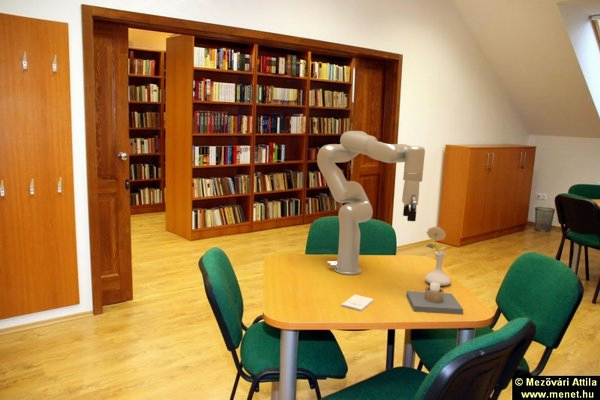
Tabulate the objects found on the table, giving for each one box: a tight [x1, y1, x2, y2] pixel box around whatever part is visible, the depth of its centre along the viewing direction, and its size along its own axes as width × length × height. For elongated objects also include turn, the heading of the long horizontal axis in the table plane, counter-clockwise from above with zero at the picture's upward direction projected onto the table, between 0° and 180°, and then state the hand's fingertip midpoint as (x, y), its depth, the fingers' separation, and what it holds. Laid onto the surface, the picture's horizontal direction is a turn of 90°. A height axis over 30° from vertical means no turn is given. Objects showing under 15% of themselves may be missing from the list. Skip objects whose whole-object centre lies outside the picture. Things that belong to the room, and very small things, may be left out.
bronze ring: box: [424, 286, 445, 303], centre depth 188 cm, size 7×7×4 cm
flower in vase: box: [423, 226, 452, 287], centre depth 212 cm, size 13×11×25 cm
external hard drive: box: [340, 294, 375, 312], centre depth 186 cm, size 2×8×12 cm
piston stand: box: [405, 282, 464, 315], centre depth 188 cm, size 18×16×8 cm
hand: (409, 218), depth 200 cm, fingers open, 9 cm apart
